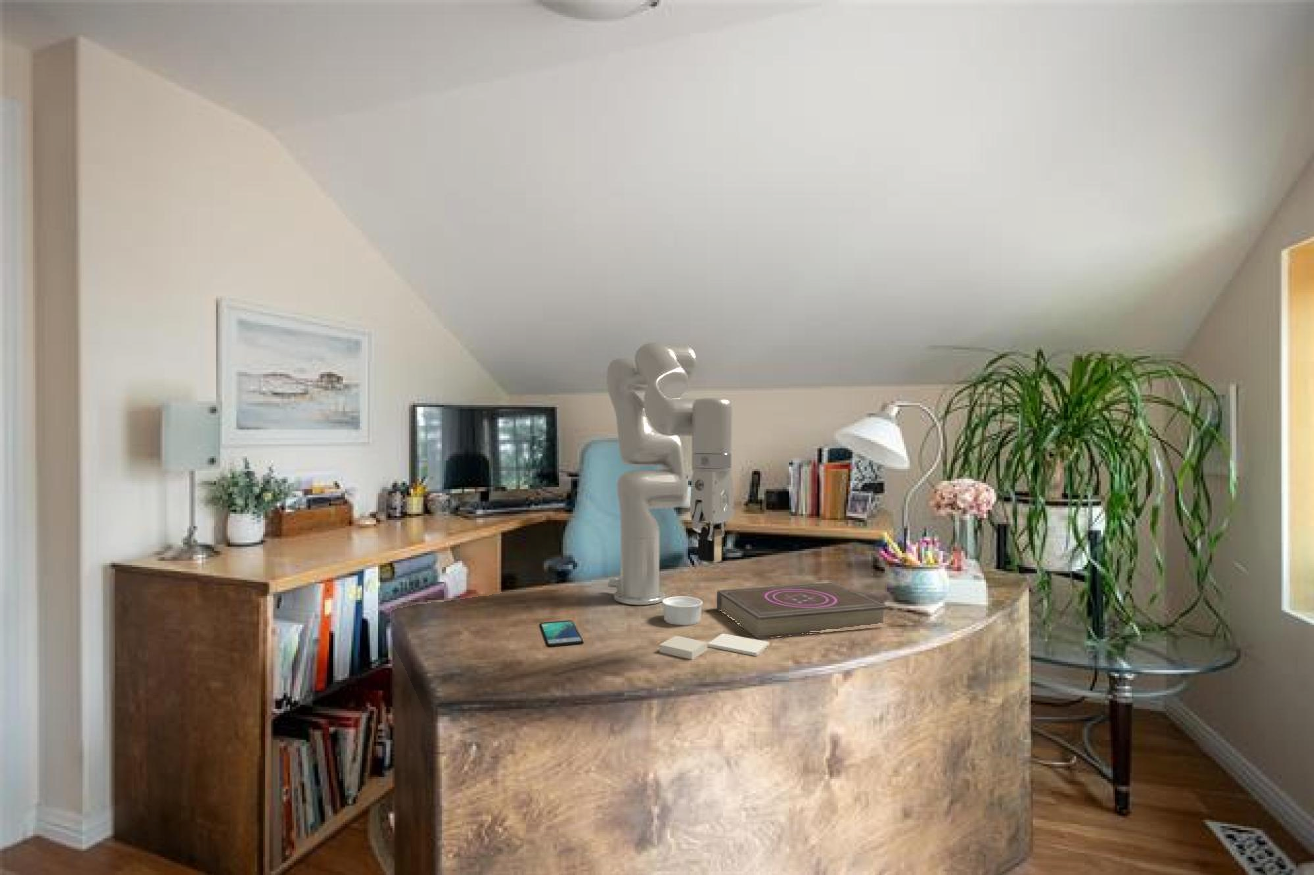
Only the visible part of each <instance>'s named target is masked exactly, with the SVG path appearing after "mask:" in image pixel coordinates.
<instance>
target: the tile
mask: <svg viewBox="0 0 1314 875" xmlns="http://www.w3.org/2000/svg"><path fill="white" fill-rule="evenodd" d="M707 651H708V642H707V641H703V640H698V639H694V638H693V639H692V638H689V637H683V636H681V635H680V636H679V635H674V636H672V637H671V638H669V639H667V640H665V641H663V642H661V643H659V653H662V654H665V655H671V656H674V657H675V656H676V657H679V658H684V659H686V660H687V659H688V660H694V659H695V658H697V657H699V656H700V655H702V654H704V653H705V652H707Z"/></svg>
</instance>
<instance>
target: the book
mask: <svg viewBox="0 0 1314 875" xmlns="http://www.w3.org/2000/svg"><path fill="white" fill-rule="evenodd" d="M717 609H718V610H717ZM889 609H890V606H888V605H887V604H884V603H882V602H879V601H877V600H876V599H875V600H874V599H872V598H870V597H868V596H866V595H863V594H860V593H858V592H856V591H853V590H852V589H849V588H846V587H844V586H842V585H839V584H837V583H834V582H823V583H822V582H820V583H807V584H806V583H805V584H792V585H777V586H763V587H750V588H749V587H747V588H745V587H744V588H734V589H733V588H732V589H730V588H729V589H718V590H717V592H716V610H717V611H719V610H722V611H721V612H725V613H726V615H729V617H732V618H733V619H735V620H734V621H737V622H736V623H740V624H739V625H741V627H740V628H742V627H743V628H744V629H743V628H742V629H743V630H745V629H746V630H747V631H748V632H747V631H746V630H745V631H746V632H747V633H749V634H750V633H751V634H752V635H751V634H750V635H751V636H753V635H754V636H755V637H756V638H755V637H754V636H753V637H754V638H755V639H757V638H758V639H757V640H761V639H760V638H769V639H772V638H771V637H777V636H789V635H800V636H805V635H804V634H807V633H808V634H809V633H820V632H810V631H821V630H826V629H839V628H843V627H854V626H860V625H871V624H878V623H884V611H885V610H889ZM721 612H720V613H721ZM734 621H733V622H734ZM736 623H735V624H736ZM739 625H738V626H739ZM802 633H803V634H802Z"/></svg>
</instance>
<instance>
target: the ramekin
mask: <svg viewBox="0 0 1314 875" xmlns="http://www.w3.org/2000/svg"><path fill="white" fill-rule="evenodd" d="M703 603H704V602H703V600H701V599H699V598H698V597H697V598H696V597H693V596H684V595H683V596H682V595H680V596H671V597H670V596H669V597H665V599H664V600H663V601H661V604H662V606H663V607H662V608H663V620H664V621H665V622H666V623H667V624H670V625H672V626H673V625H674V626H692V625H696V624H698V623H700V621H701V618H702V617H701V616H702V608H703V607H702V606H703Z"/></svg>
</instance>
